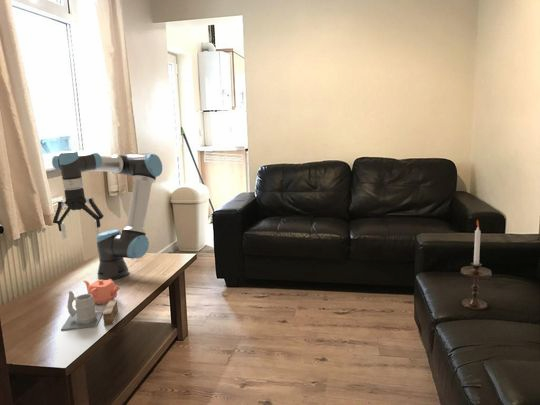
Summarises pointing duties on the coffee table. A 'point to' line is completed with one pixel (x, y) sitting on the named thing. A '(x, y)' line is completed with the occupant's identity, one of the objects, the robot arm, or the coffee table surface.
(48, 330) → the coffee table surface
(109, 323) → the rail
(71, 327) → the plate
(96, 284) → the teapot
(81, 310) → the mug
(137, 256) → the robot arm
